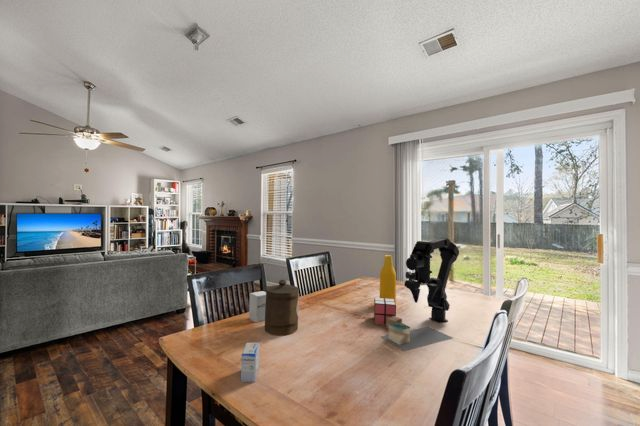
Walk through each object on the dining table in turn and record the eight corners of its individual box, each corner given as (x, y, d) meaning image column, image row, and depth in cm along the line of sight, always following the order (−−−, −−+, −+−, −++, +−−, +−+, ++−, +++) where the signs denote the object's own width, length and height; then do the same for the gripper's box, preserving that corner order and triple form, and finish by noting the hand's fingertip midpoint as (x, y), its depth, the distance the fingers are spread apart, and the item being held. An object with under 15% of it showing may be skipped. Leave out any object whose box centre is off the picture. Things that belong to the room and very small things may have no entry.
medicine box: (245, 368, 93) (245, 342, 93) (258, 368, 93) (259, 342, 94) (240, 382, 85) (241, 353, 85) (255, 382, 86) (256, 353, 86)
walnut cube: (392, 326, 132) (392, 315, 132) (401, 329, 128) (401, 318, 129) (386, 328, 129) (386, 317, 129) (395, 332, 125) (395, 321, 125)
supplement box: (255, 322, 133) (256, 296, 133) (248, 318, 138) (249, 292, 139) (269, 319, 138) (270, 293, 138) (261, 315, 143) (262, 290, 143)
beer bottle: (383, 302, 169) (383, 254, 170) (398, 305, 164) (398, 255, 164) (376, 305, 162) (377, 255, 162) (392, 309, 156) (392, 257, 157)
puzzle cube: (395, 326, 132) (396, 304, 132) (374, 324, 134) (374, 303, 134) (394, 318, 142) (394, 298, 142) (373, 317, 144) (374, 297, 144)
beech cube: (388, 324, 117) (388, 338, 117) (398, 329, 112) (398, 344, 112) (399, 322, 120) (399, 336, 120) (410, 327, 115) (409, 341, 114)
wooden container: (304, 328, 127) (305, 280, 127) (278, 339, 116) (279, 285, 116) (283, 320, 137) (284, 275, 137) (257, 328, 126) (258, 279, 126)
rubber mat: (427, 327, 132) (427, 326, 132) (453, 338, 119) (453, 337, 119) (380, 337, 119) (380, 336, 119) (403, 352, 106) (403, 351, 106)
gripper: (424, 264, 143) (424, 294, 143) (396, 266, 135) (396, 299, 135) (442, 267, 133) (442, 300, 133) (413, 270, 125) (413, 305, 125)
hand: (423, 301), depth 132 cm, fingers open, 9 cm apart
